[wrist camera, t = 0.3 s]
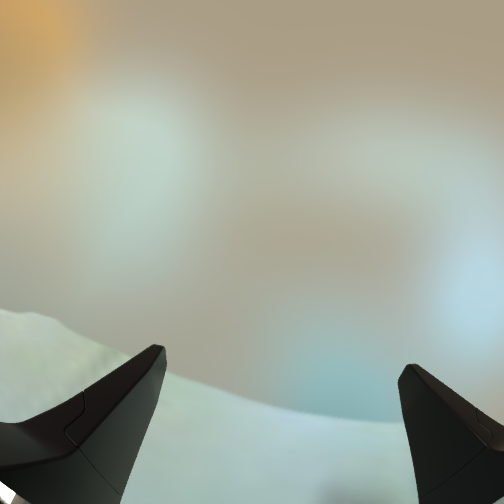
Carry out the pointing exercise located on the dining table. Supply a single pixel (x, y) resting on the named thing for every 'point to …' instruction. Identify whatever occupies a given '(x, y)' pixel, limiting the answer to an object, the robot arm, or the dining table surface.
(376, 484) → the dining table surface
